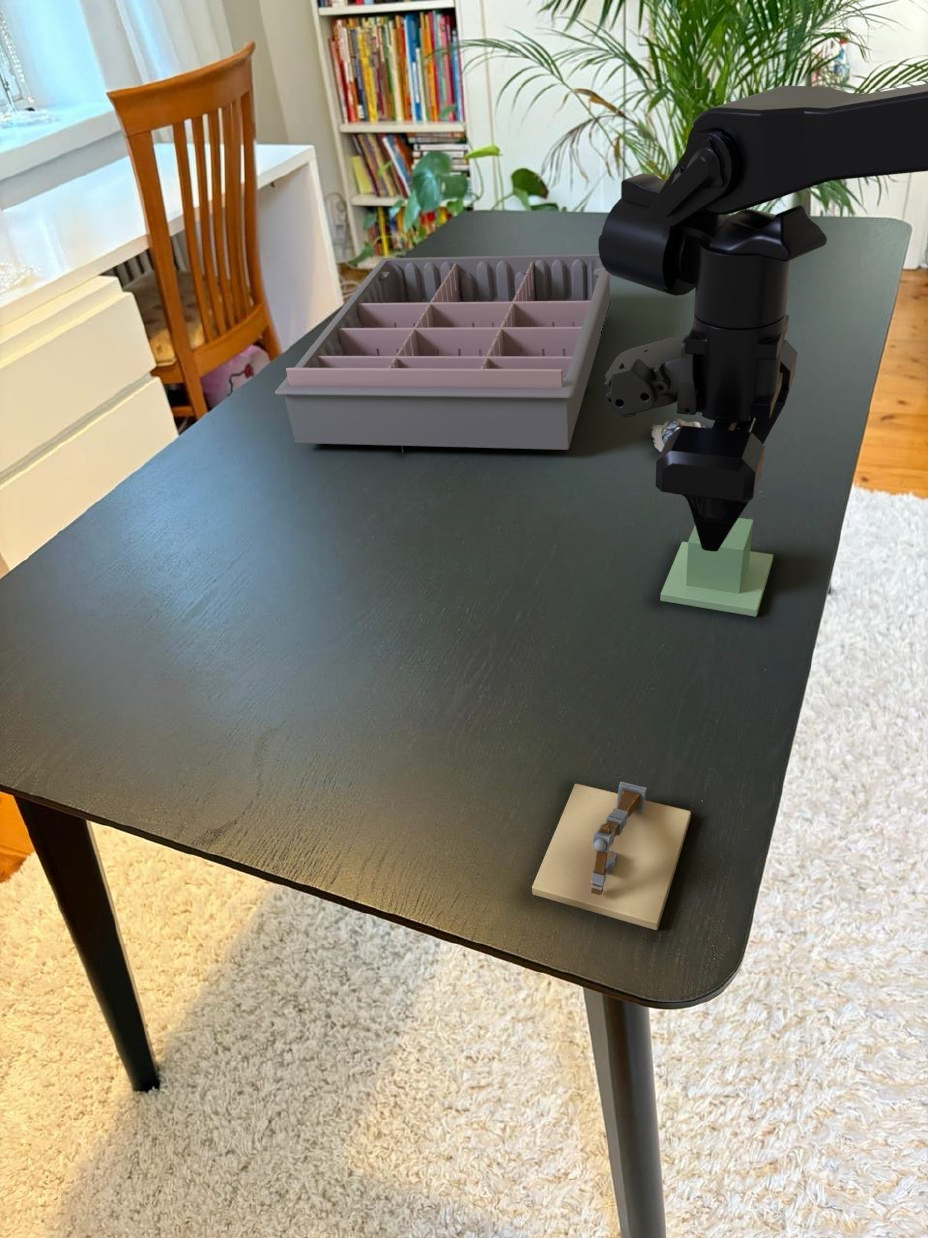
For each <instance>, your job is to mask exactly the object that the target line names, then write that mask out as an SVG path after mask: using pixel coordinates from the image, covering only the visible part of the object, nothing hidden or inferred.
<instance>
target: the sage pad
mask: <svg viewBox="0 0 928 1238" xmlns="http://www.w3.org/2000/svg"><path fill="white" fill-rule="evenodd" d="M687 553H688V541H682V542H681V544H680V545H679V548H678V550H677V553H676V555H675V558H674V561H673V563H672V565H671V568H670V570H669V572H668V574H667V578H666V580H665V582H664V584H663V587H662V589H661V591H660V597H659V598H660V601H661V602H665V603H672V604H677V605H683V606H690V607H695V608H702V609H706V610H707V609H708V610H713V611H719V612H724V613H731V614H737V615H743V616H750V617H758V614H759V610H760V606H761V603H762V600H763V596H764V593H765V590H766V586H767V583H768V579H769V576H770V572H771V569H772V565H773V562H774V561H773V560H774V554H773V553H766V552H759V551H751V550H750V560H749V565H748V568H747V571H746V574H745V578H744V581H743V584H742V587H741V590H740V593H733V592H726V591H720V590H714V589H707V588H701V587H695V586H689V585H686V571H687Z"/></svg>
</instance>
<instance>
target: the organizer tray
mask: <svg viewBox="0 0 928 1238" xmlns="http://www.w3.org/2000/svg"><path fill="white" fill-rule="evenodd" d="M610 276H611V274H610V273H608V272H607V271H606V269H605V268H604V267H603V265H602V262H601V260H600V257H599V253H565V254H564V253H563V254H562V253H561V254H560V253H559V254H520V255H513V254H512V255H474V256H470V255H468V256H435V257H434V256H431V257H430V256H427V257H425V256H424V257H389V258H388V257H387V258H385V257H384V258H381V259H380V260H379V262H378V263H377V264H376V265H375V266H374V267H373V269H372V270H371V271H370V273H368V275H367V277H365V279H363V281H362V283H360V285H359V286H358V287H357V289H356V290H355V291H354V292H353V294H352V295H351V296H350V297H349V299H348V300H347V301H346V302H345V303H344V304H343V306H342V307H341V309H340V310H339V311H338V312H337V313H336V314H335V316H334V317H333V319H332V320H330V322H329V324H327V326H326V327H325V329H323V331H322V332H321V334H320V335H319V336H318V337H317V339H316V340H315V341H314V342H313V344H312V345H311V346H310V347H309V348H308V350H307V351H306V352H305V354H304V355H303V356H302V357H301V359H300V360H299V361H298V362H297V364H296V365H295V366H294V367H286V369H285V370H286V377H285V379H284V380H283V381H282V382H281V383H280V385H279V386H278V388H277V389H275V391H274V394H275V395H283V398H284V401H285V405H286V409H287V410H286V411H287V414H288V418H289V422H290V423H289V424H290V427H291V431H292V434H293V439H294V443H295V444H323V445H324V444H326V445H327V444H328V445H362V446H363V445H365V446H366V445H367V446H370V445H371V446H401V451H402V452H404V448H403V447H404V446H405V447H406V446H407V447H409V446H410V447H442V448H443V447H444V448H446V447H447V448H485V449H487V448H488V449H489V448H490V449H523V450H524V449H525V450H526V449H527V450H528V449H529V450H561V451H562V450H564V451H565V450H567V451H569V448H570V445H571V441H572V438H573V435H574V432H575V429H576V424H577V420H578V418H579V414H580V410H581V407H582V402H583V399H584V397H585V392H586V389H587V385H588V383H589V379H590V375H591V372H592V368H593V365H594V362H595V358H596V356H597V351H598V348H599V345H600V341H601V337H602V334H601V331H602V332H603V330H602V328H603V329H604V327H603V324H604V325H605V323H604V321H605V322H606V320H605V317H606V318H607V316H606V313H607V309H608V305H609V301H610V302H611V291H610V290H611V277H610ZM607 314H608V313H607ZM600 336H601V337H600ZM599 340H600V341H599Z"/></svg>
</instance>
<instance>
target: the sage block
mask: <svg viewBox="0 0 928 1238" xmlns="http://www.w3.org/2000/svg"><path fill="white" fill-rule="evenodd" d="M754 521H755V520H754V519H751V518H750V519H748V518H742V517H739V518H738V520H737V521H736V523H735V524H734V526H733V527H732V529H731V531H730V532H729V534H728V535H727V537H726V539H725V540H724V542H723V543H722V545H721V547H720V548H719V550H718V551H716V552H713V551H706V550H703V549H702V547H701V543H700V540H699V537H698V533H697V530H696V526H695V525H694V526H693V529H692V531H691V534H690V535H689V538H688V541H687V542H688V553H687V571H686V585H689V586H695V587H701V588H707V589H714V590H720V591H726V592H733V593H740V590H741V587H742V584H743V581H744V578H745V574H746V571H747V568H748V565H749V560H750V551H751V548H752V541H753V540H752V539H753V532H754V531H753V530H754V529H753V528H754Z"/></svg>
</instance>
